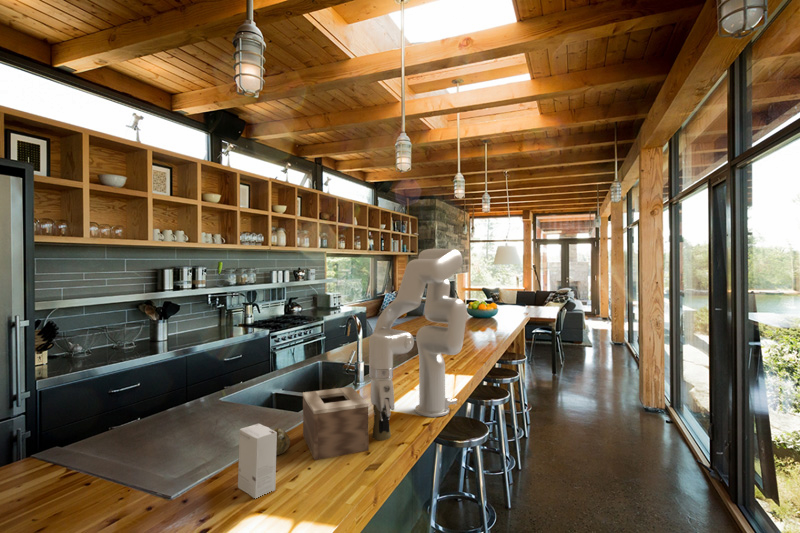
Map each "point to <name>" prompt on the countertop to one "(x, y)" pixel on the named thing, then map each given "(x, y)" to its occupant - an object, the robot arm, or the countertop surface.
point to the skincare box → (257, 460)
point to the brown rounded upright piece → (376, 434)
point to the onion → (281, 441)
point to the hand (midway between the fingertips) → (381, 429)
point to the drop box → (335, 422)
